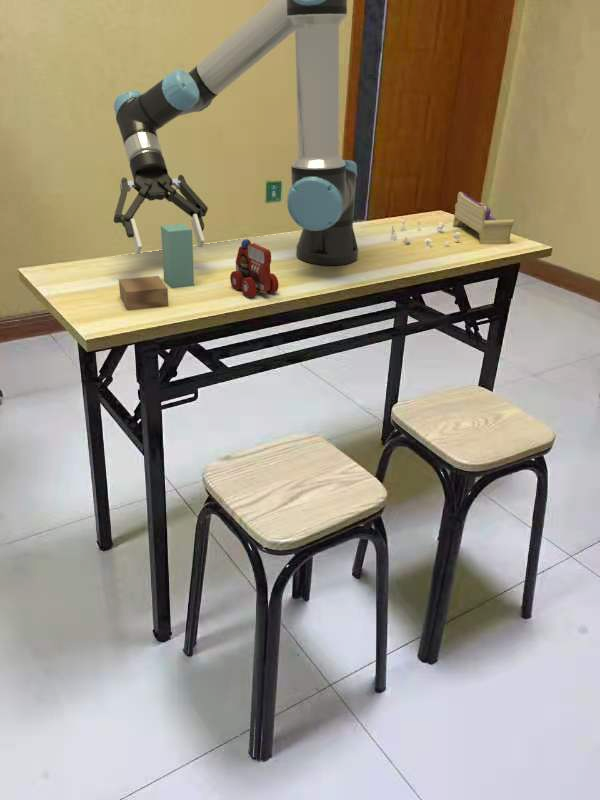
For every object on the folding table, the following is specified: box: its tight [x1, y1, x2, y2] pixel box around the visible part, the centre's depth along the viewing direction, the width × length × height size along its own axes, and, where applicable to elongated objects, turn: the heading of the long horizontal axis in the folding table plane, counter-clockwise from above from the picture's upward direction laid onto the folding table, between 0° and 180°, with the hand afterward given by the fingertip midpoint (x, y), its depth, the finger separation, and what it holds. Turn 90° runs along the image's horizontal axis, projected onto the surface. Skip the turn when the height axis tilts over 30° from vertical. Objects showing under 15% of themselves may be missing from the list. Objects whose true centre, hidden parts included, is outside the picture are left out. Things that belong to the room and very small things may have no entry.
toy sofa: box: [452, 191, 515, 245], centre depth 191 cm, size 21×9×10 cm, turn 11°
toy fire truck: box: [230, 239, 280, 298], centre depth 143 cm, size 7×12×10 cm, turn 33°
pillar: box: [160, 223, 195, 289], centre depth 144 cm, size 5×5×12 cm
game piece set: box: [390, 219, 461, 249], centre depth 187 cm, size 19×20×4 cm
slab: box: [118, 275, 169, 311], centre depth 136 cm, size 8×8×4 cm
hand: (171, 247), depth 144 cm, fingers open, 13 cm apart
